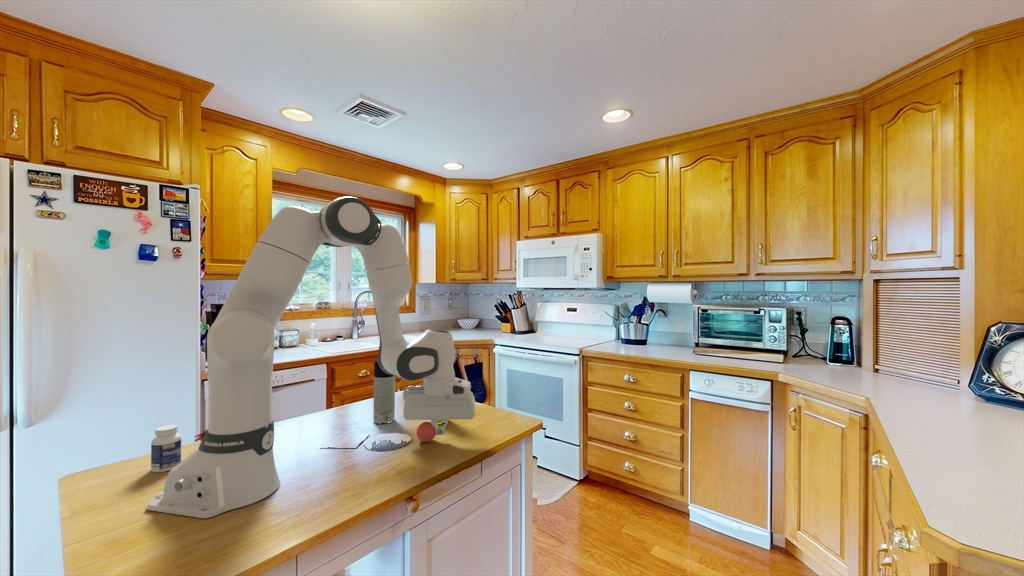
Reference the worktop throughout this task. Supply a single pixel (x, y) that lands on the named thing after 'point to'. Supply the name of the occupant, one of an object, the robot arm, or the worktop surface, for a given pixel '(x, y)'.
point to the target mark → (387, 445)
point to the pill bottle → (165, 449)
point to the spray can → (383, 395)
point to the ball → (425, 432)
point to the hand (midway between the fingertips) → (440, 434)
